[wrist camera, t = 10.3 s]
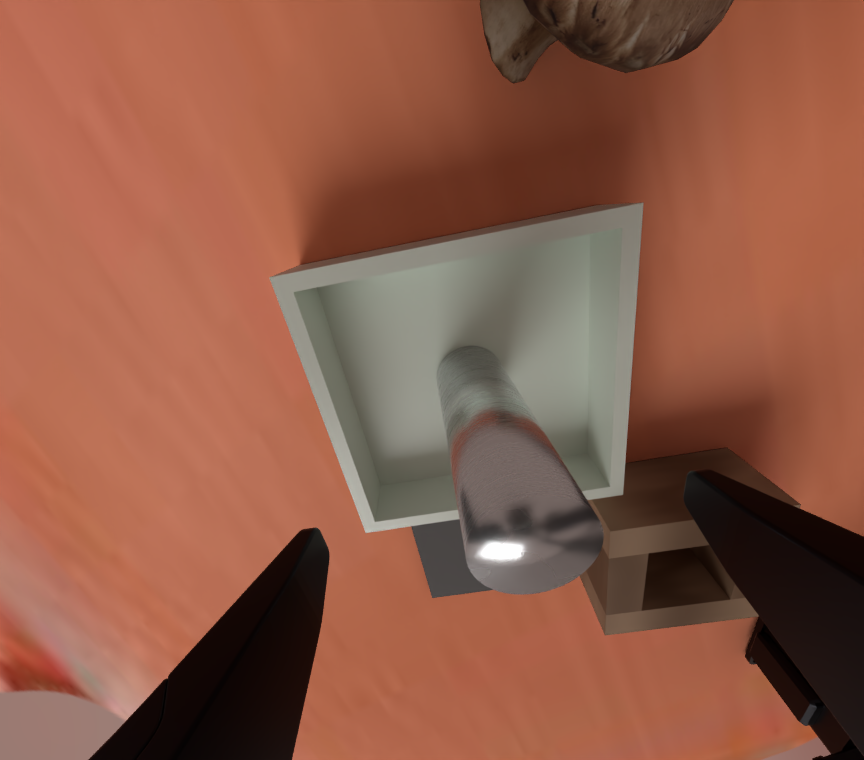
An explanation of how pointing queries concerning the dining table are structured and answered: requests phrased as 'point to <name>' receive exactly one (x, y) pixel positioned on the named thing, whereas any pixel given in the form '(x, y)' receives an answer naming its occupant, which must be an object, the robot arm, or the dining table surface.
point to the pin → (510, 482)
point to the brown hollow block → (664, 549)
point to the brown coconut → (597, 31)
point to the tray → (470, 326)
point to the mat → (445, 559)
